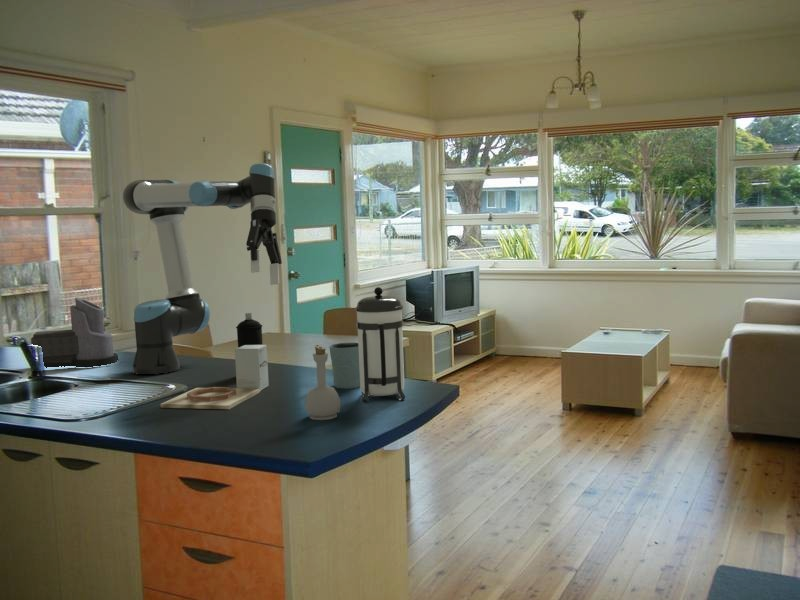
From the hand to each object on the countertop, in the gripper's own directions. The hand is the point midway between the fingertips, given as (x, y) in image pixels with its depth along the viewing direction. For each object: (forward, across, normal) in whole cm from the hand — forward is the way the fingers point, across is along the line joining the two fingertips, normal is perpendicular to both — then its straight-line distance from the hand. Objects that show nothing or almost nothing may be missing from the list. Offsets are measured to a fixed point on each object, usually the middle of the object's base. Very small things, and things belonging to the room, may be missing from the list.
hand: (265, 278), depth 241 cm
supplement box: (+33, +2, +6) cm, 33 cm away
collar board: (+37, -12, +12) cm, 40 cm away
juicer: (+11, +30, +86) cm, 92 cm away
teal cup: (+34, +9, -21) cm, 41 cm away
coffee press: (+41, -5, -36) cm, 55 cm away
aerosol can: (+25, +19, +14) cm, 35 cm away
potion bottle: (+47, -25, -25) cm, 59 cm away
